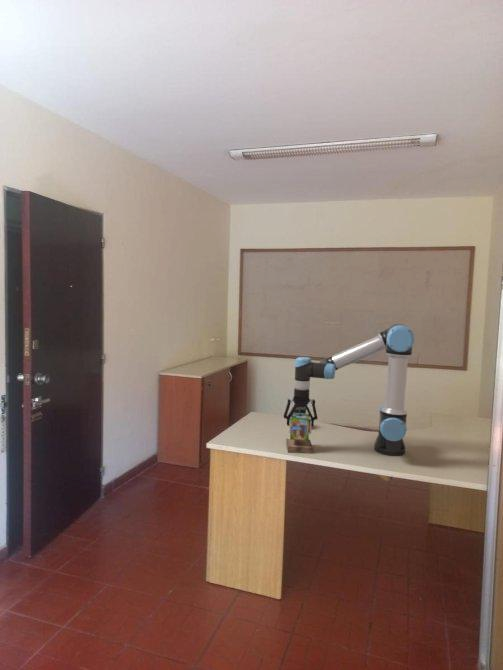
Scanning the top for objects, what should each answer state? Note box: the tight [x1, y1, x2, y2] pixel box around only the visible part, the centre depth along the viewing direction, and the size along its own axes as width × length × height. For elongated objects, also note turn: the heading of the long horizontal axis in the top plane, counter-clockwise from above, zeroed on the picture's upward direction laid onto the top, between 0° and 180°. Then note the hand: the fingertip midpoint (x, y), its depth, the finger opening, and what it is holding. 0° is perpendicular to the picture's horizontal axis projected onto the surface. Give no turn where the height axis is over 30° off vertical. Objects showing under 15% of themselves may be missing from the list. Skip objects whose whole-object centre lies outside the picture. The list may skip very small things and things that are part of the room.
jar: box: [291, 406, 308, 414], centre depth 265 cm, size 9×8×12 cm
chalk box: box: [289, 408, 311, 441], centre depth 229 cm, size 9×9×15 cm
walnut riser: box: [285, 438, 314, 454], centre depth 231 cm, size 12×12×3 cm
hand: (299, 432), depth 230 cm, fingers closed on chalk box, 9 cm apart
